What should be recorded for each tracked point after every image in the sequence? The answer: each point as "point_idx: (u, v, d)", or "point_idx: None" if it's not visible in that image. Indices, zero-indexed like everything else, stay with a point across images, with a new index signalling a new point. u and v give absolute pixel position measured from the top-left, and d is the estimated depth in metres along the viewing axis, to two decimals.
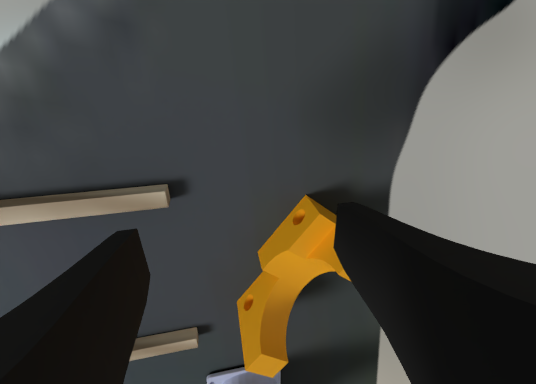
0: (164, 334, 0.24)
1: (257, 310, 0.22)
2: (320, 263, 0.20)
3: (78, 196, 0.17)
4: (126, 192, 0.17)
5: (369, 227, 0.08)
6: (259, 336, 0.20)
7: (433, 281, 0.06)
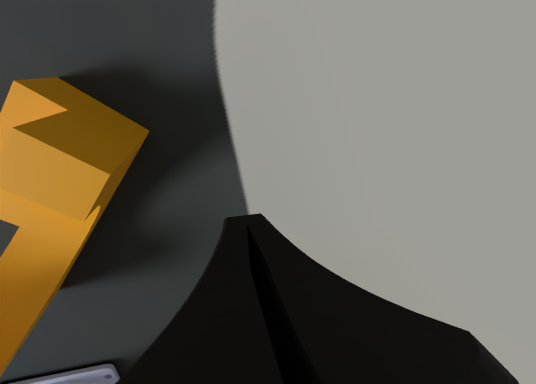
0: None
1: None
2: None
3: None
4: None
5: (254, 243, 0.07)
6: None
7: (278, 310, 0.05)
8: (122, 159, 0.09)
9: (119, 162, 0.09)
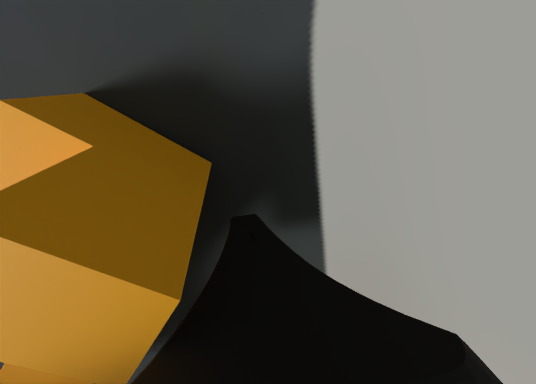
0: None
1: None
2: None
3: None
4: None
5: (247, 244, 0.07)
6: None
7: None
8: (192, 238, 0.05)
9: (189, 249, 0.05)
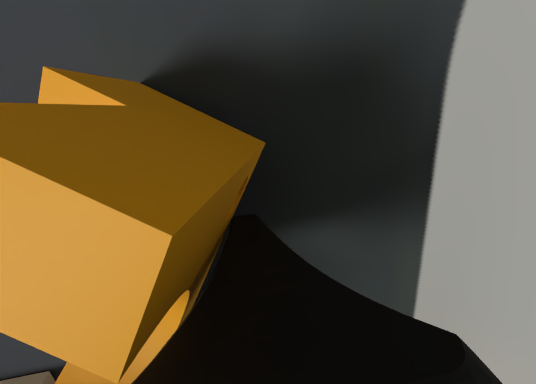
0: None
1: None
2: None
3: None
4: None
5: (247, 244, 0.07)
6: None
7: None
8: (219, 185, 0.04)
9: (211, 193, 0.03)
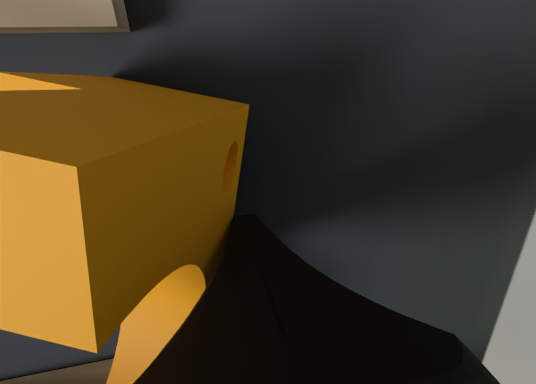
0: None
1: None
2: None
3: None
4: None
5: (246, 244, 0.07)
6: None
7: None
8: (170, 132, 0.03)
9: (154, 137, 0.03)
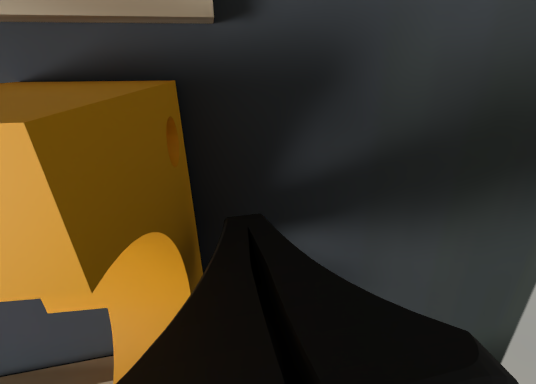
0: None
1: None
2: None
3: None
4: None
5: (254, 243, 0.07)
6: None
7: (277, 310, 0.05)
8: (99, 101, 0.04)
9: (86, 104, 0.03)
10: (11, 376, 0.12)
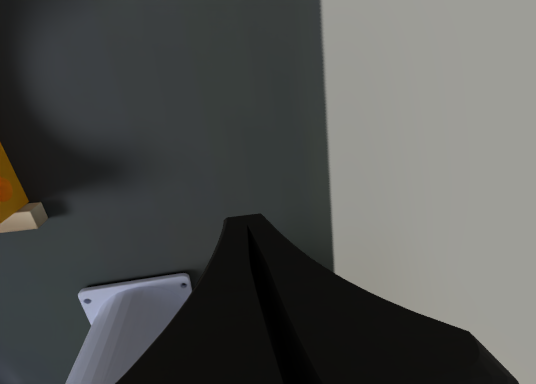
0: None
1: None
2: None
3: None
4: None
5: (254, 243, 0.07)
6: None
7: (278, 310, 0.05)
8: None
9: None
10: None
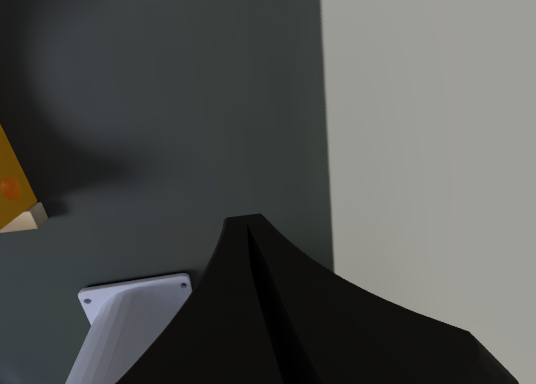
0: None
1: None
2: None
3: None
4: None
5: (254, 243, 0.07)
6: None
7: (278, 310, 0.05)
8: None
9: None
10: None
